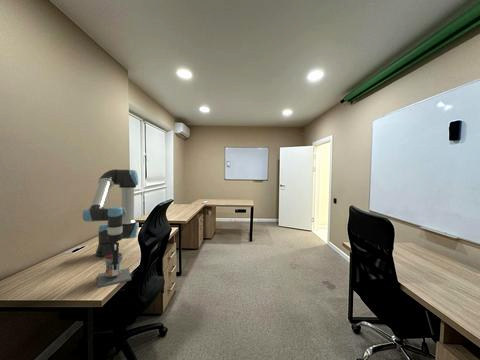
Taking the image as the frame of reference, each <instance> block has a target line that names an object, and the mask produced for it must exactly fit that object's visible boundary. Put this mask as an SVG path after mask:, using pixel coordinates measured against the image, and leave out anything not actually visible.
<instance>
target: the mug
mask: <svg viewBox="0 0 480 360" xmlns="http://www.w3.org/2000/svg"><path fill="white" fill-rule="evenodd" d="M123 257H124V256H123V254H122V253H120V252H119V253H118V274H120V273H121V269H122V268H121V265H120V264H121V263H122V260H123ZM103 260H104V263H105V266H106V267H105V272H104V273H105V274H104V275H105V276H108V277H111V276H112V265H111V264H112V263H113V254H109V255H106V256H105V257H103ZM115 276H116V275H115Z"/></svg>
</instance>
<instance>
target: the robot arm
mask: <svg viewBox="0 0 480 360" xmlns="http://www.w3.org/2000/svg"><path fill="white" fill-rule="evenodd" d="M97 181H98V182H97V184H98V186H97V188H96V192H95V194H94V197H93V199H92V202H91V204H90V208H86V209H84V210H83V211H82V220H83V221H84V222H101V221H102V222H106V221H107V222H106V223H102V224H100V225H99V227H98V231H97V232H98V245H97V247H96V250H95V257H97V258H104V257H105V256H106V255H109V254H113V263H112V264H111V265H112V276H115V275H118V253H120V248H119V247H120V243H119V242H120V241H122V240H127V239H134V238H136V237H137V234H138V229H139V223H138V222H137V220H136V219H135V189H136V188H137V186H138V185H139V176H138V172H137V170H135V169H110V170H108V171H106V172H104V173H102V175H101V176H100V177H99V179H98V180H97ZM114 186H118V188H119V189H120V190H121V206H111V207H108V208H106V205H107V202H108V198H109V195H110V192H111V189H112V188H113V187H114Z"/></svg>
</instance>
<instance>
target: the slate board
mask: <svg viewBox="0 0 480 360" xmlns="http://www.w3.org/2000/svg"><path fill="white" fill-rule="evenodd" d="M120 269H121V273H120V274H118V275H116V276H111V277H108V276H105V275H104V274H105V272H102V273H101V272H100V273H98V277H97V288H103V287H107V286H111V285H115V284H120V283H124V282H128V281H132V276H131V272H130V268H129V267H128V268H123V269H122V268H120Z"/></svg>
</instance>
